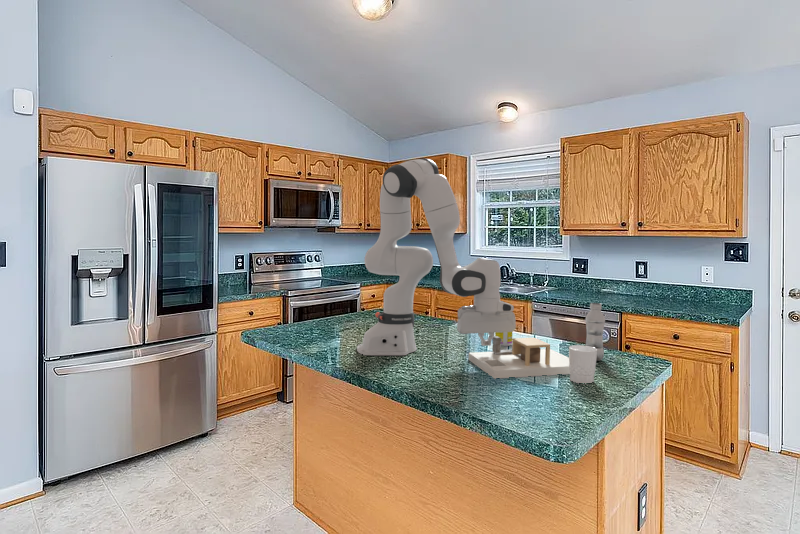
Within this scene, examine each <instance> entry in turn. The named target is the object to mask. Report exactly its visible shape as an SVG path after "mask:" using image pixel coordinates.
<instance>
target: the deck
mask: <svg viewBox="0 0 800 534" xmlns="http://www.w3.org/2000/svg"><path fill="white" fill-rule="evenodd" d="M521 346H524V347H526V349H525V361H523V360H522V359H521V358H520V357H519V356H517V355H515V354H521ZM530 348H540V362H530ZM511 350H512V353H511V354H495V353H493V352H492V351H478V352H468V361H469V362H471V363H472V364H474V365H475V366H476V367H478V368H479V369H480V370H482V371H483V372H484V373H486V374H487V373H488V374H487V375H489V376H490V377H491V376H492V379H494V380H496V378H500V379H510V378H509V377H515V378H529V377H528V376H531V377H543V376H542V375H547V376H557V374H562V375H570V371H569V356H566V355H564V354H562V353H559V352H557V351H556V350H553V349H551V344H550V343H548V342H545V341H543V340H541V339H538V338H536V337H516V338H514V337H512V345H511Z"/></svg>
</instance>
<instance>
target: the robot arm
mask: <svg viewBox="0 0 800 534" xmlns="http://www.w3.org/2000/svg"><path fill="white" fill-rule="evenodd" d="M413 196H416V197H417V198H418V199H419V200H420V202H421V205H422V208H423V212H424V215H425V219H426V221H427V224H428V227H429V229H430V233H431V235H432V238H433V242H434V246H435V250H436V254H437V257H438V261H439V267H440V273H439V284H440V287H441V288H442V290H443V291H444V292H445V293H447V294H450V295H456V296H459V297H463V298H467V297H472V296H473V305H467V306H466V305H463V306H461V307H459V308H458V309H457V323H456V326H457V327H456V330H457V331H458V333H460V334H464V335H465V334H466V335H467V334H477V335H478V338H479V339H480V345H481V346H482V347H487V346H489V347H490V346H492V341H493V337H494V336H495V333H496V332H512V333H513V332H514V331H515V330H516V326H517V324H516V323H517V321H516V315H515V312H514V309H515V307H514V305H513V304H510V303H508V302H505V301H503V300H501V294H500V288H501V279H502V278H501V276H502V275H501V267H500V263H499V262H498V261H497V260H495V259H493V258H492V259H491V258H486V257H477V258H476V259H475V260H474V261H472V262H471V263H469V264H467V265H464V266H462V265H461V264H460V263H459V260H458V257H457V253H456V249H455V244H454V235H455V233H456V231H457V229H458V228H459V226H460V223H461V217H460V211H459V206H458V203H457V200H456V197H455V195H454V192H453V189H452V187H451V185H450V183H449V181H448V179H447V177H446V176H445V175H443V174H440V171H439V168H438V165H437V164H436V162H434V160H432V159H430V158H424V157H422V158H418V159H409V160H406V161H404V162H401V163H399V164H394V165H391V166H390V167H388V168H387V169H386V170H385V172H384V173H383V175H382V184H381V187H380V195H379V213H380V230H379V236H378V238H377V241H376V242H375V243H374V244H373V245H372V246H371V247H370V248H368V250H367V251H366V253H365V256H364V265H365V267H366V269H367V271H368V272H369V273H371V274H375V275H380V276H399V277H398V278H399V280H398V282H396V283H395V284H392V285H390V286H388V287H387V288H386V289H385V290H384V293H383V311H382V312H378V311H377V312H376V313H375V317H376V318H377V323H375V324H374V325H373V326H371V327H370V328H369V329H368V330H366V331H365V333H364V334H363V339H362V343H360V344H358V345H357V346H356V351H357V352H358V353H359V354H360V355H362V354H363V356H406V355H408V354H411V353H414V352H415V351H417V350H418V348H417V344H416V339H415V333H414V332H415V331H414V326H415V312H414V299H415V297H414V296H415V291H416V288H417V286H418V284H419V283H420V281H421V280H422V279H423V278H424V277H426V275H429V273H430V272H431V270H432V269H433V266H434V257H433V254H432V252H431V251H430V249H428V248H425V247H421V246H413V245H412V246H411V245H409V246H408V245H407V246H406V245H398V244H397V242H398V241H399V240H401V239H404V238H405V237H407V236H408V235H409V234H410V233H411V231H412V228H413V226H412V211H411V210H412V208H411V205H412V204H411V198H413ZM485 334H488V338H487V339H485V338H484V337H485Z"/></svg>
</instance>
